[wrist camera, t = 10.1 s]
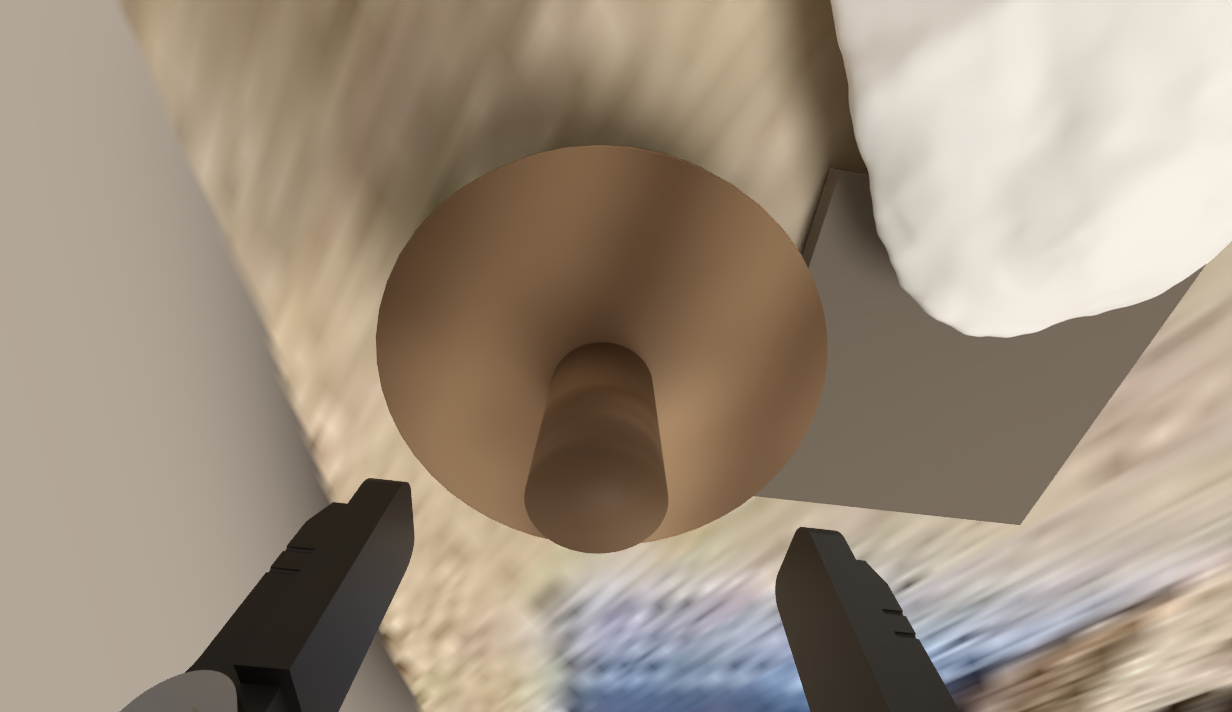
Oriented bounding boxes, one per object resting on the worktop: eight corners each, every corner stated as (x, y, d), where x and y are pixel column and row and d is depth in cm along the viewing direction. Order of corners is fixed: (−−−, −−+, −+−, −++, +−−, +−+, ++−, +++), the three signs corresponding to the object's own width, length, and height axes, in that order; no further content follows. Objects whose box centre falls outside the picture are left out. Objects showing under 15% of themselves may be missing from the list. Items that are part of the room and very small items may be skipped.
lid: (882, 182, 13) (1065, 226, 8) (753, 540, 19) (805, 702, 14) (368, 109, 12) (178, 101, 7) (405, 507, 19) (319, 665, 13)
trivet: (1201, 225, 20) (1229, 230, 19) (1006, 511, 27) (1020, 525, 26) (829, 168, 19) (840, 170, 18) (729, 480, 26) (733, 493, 25)
